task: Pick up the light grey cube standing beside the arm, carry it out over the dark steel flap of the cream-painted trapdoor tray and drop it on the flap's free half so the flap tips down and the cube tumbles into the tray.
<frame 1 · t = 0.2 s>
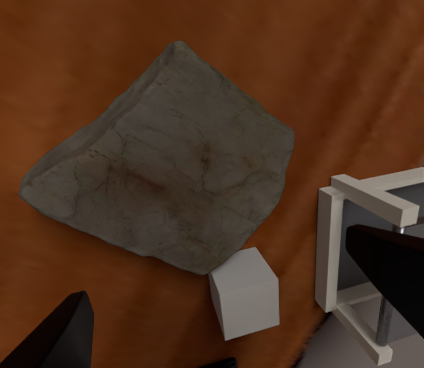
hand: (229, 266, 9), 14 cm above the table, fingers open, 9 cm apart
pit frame: (334, 244, 29), on the table
marble piece: (173, 159, 22), on the table
light grey cube: (233, 273, 27), on the table
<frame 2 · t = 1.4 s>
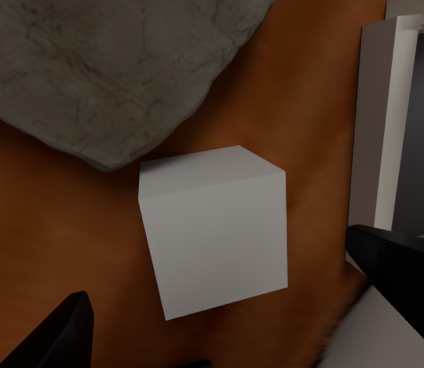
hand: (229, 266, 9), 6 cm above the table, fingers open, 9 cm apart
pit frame: (384, 154, 16), on the table
light grey cube: (197, 198, 14), on the table
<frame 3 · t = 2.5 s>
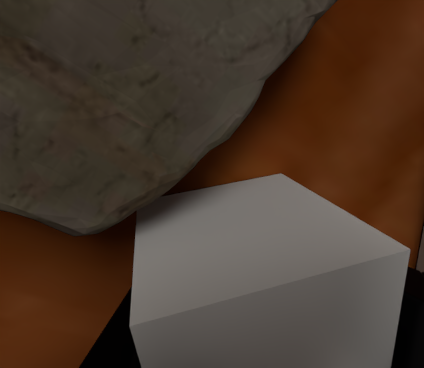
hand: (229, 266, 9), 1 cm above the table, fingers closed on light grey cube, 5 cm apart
light grey cube: (220, 249, 10), on the table, touching gripper
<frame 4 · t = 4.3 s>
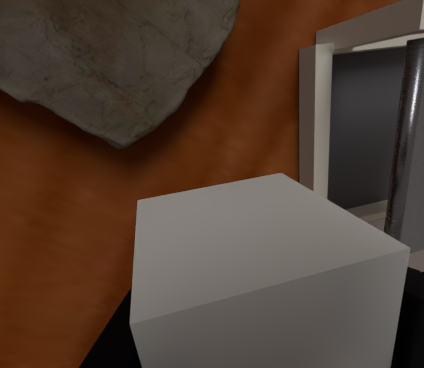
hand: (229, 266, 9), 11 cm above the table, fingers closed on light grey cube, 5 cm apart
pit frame: (324, 142, 21), on the table
light grey cube: (220, 248, 10), point 10 cm above the table, touching gripper
when the fingers open (11 cm above the table, at t = 6.4 s): light grey cube drops 3 cm, resting on trapdoor.
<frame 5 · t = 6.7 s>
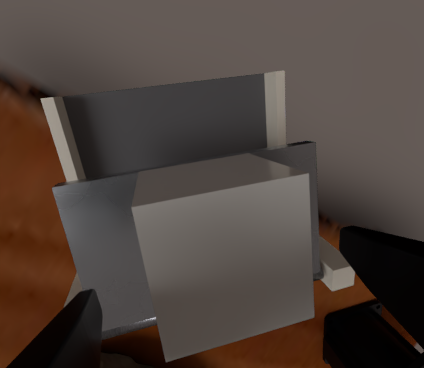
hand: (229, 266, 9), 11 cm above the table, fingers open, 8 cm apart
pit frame: (193, 234, 21), on the table
trapdoor: (206, 239, 13), point 7 cm above the table, hinge at -5.4°, touching light grey cube
light grey cube: (203, 213, 13), point 7 cm above the table, tilted 5°, touching trapdoor
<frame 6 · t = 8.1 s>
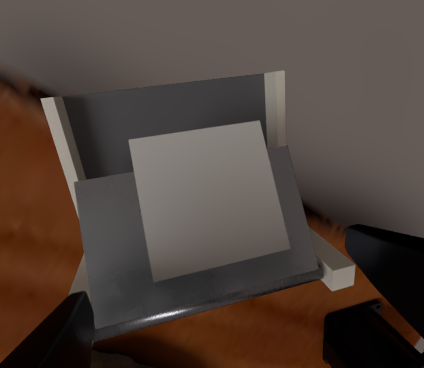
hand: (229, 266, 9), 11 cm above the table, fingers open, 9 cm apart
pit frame: (193, 234, 21), on the table
trapdoor: (202, 233, 15), point 5 cm above the table, hinge at -27.9°, touching light grey cube
light grey cube: (196, 205, 15), point 5 cm above the table, tilted 28°, touching trapdoor
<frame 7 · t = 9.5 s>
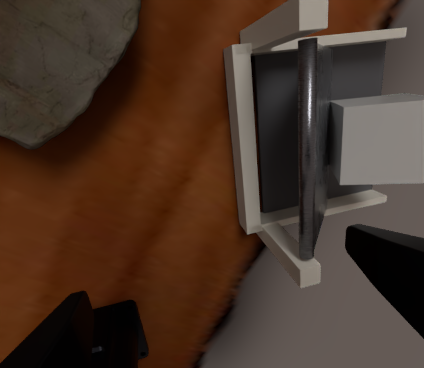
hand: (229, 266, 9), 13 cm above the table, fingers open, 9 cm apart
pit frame: (258, 141, 22), on the table
trapdoor: (316, 147, 18), point 4 cm above the table, hinge at -48.3°
light grey cube: (334, 139, 19), point 3 cm above the table, tilted 63°
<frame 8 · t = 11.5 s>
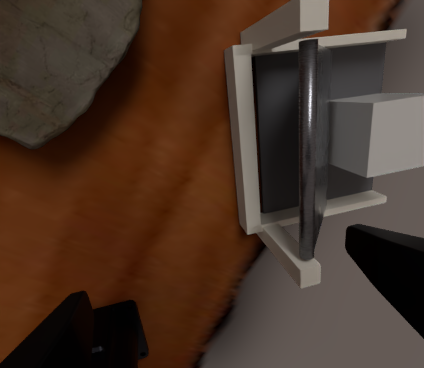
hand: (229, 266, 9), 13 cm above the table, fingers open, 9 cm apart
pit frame: (258, 142, 22), on the table
trapdoor: (316, 147, 18), point 4 cm above the table, hinge at -48.8°
light grey cube: (344, 136, 20), point 3 cm above the table, tilted 90°, touching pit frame
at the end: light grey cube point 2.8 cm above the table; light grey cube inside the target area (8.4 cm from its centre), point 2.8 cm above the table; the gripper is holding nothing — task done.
